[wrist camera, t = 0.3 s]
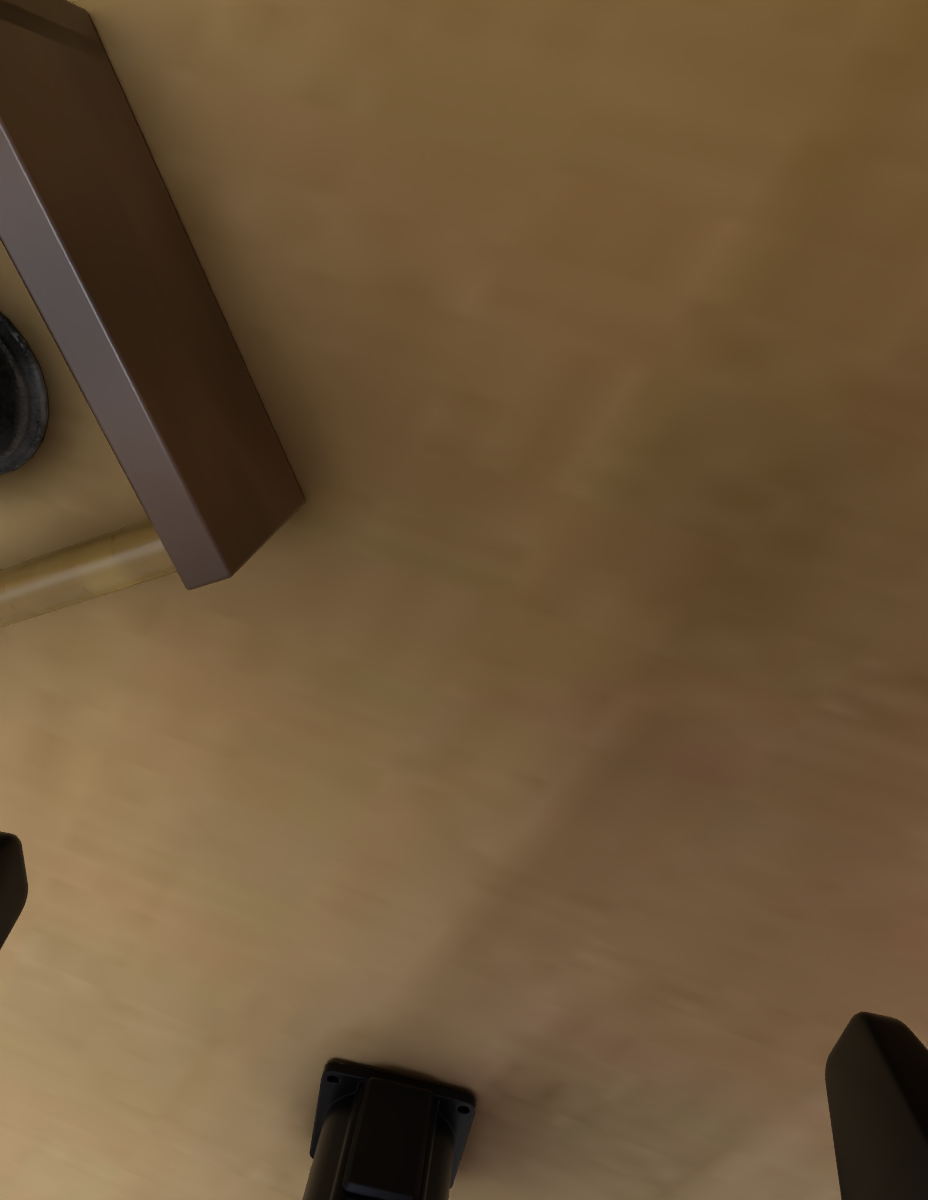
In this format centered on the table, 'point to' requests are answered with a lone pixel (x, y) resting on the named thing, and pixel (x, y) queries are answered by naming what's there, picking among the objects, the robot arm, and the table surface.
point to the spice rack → (126, 325)
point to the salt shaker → (19, 400)
